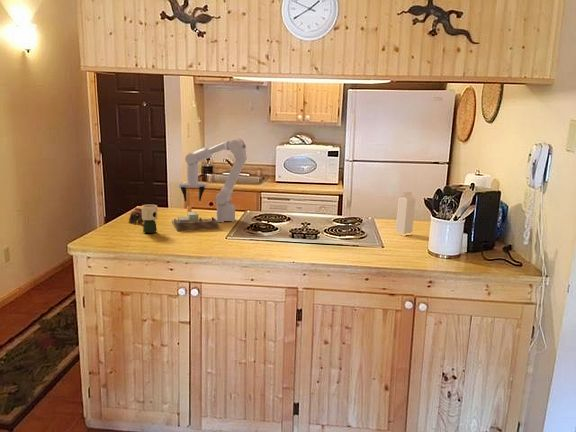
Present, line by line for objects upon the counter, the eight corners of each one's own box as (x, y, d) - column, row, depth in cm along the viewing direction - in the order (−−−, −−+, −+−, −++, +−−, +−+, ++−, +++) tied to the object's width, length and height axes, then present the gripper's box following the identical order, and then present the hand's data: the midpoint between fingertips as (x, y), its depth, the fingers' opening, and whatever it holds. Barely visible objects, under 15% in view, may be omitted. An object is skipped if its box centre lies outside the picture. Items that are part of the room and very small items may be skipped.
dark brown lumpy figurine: (125, 222, 258) (130, 207, 260) (142, 228, 263) (147, 214, 265) (132, 221, 248) (138, 205, 250) (149, 228, 253) (155, 213, 255)
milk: (395, 234, 256) (398, 191, 252) (403, 232, 260) (407, 190, 255) (404, 236, 252) (407, 193, 247) (412, 235, 255) (416, 192, 250)
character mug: (154, 235, 234) (153, 208, 231) (139, 235, 234) (138, 208, 231) (160, 230, 244) (159, 203, 241) (145, 229, 244) (145, 203, 241)
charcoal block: (186, 224, 253) (186, 216, 252) (189, 227, 247) (189, 219, 246) (177, 225, 251) (177, 217, 250) (179, 227, 246) (179, 220, 245)
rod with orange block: (193, 215, 270) (193, 206, 269) (198, 222, 258) (198, 212, 256) (184, 216, 269) (184, 206, 267) (189, 222, 256) (189, 212, 255)
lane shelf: (210, 220, 267) (210, 213, 266) (218, 229, 251) (218, 221, 250) (171, 222, 260) (171, 214, 259) (177, 231, 243) (177, 223, 243)
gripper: (179, 176, 260) (179, 202, 263) (207, 176, 265) (207, 201, 268) (177, 174, 267) (178, 200, 270) (205, 174, 272) (205, 199, 275)
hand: (192, 200), depth 269 cm, fingers open, 7 cm apart
